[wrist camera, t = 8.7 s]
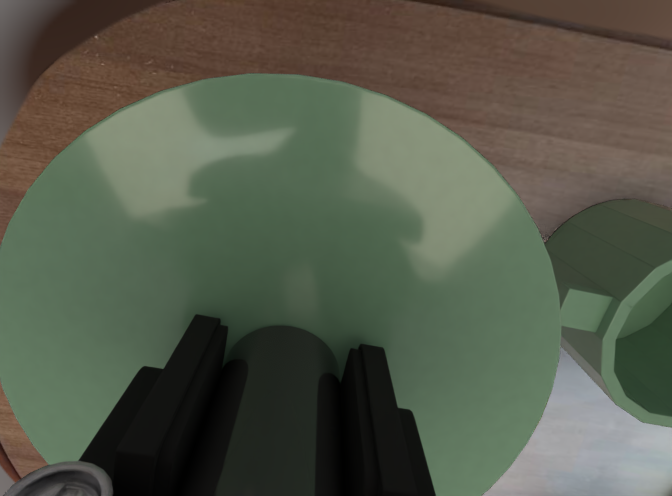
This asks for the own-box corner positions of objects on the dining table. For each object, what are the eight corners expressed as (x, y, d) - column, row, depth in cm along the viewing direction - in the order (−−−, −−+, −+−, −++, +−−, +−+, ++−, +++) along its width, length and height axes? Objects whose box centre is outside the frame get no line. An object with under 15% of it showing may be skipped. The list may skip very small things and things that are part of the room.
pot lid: (15, 5, 9) (-602, -168, 3) (626, 150, 10) (1043, 228, 4) (27, 496, 13) (-209, 817, 7) (450, 553, 14) (535, 864, 9)
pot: (532, 174, 31) (616, 206, 22) (751, 225, 33) (910, 274, 24) (476, 324, 35) (527, 402, 26) (674, 362, 37) (785, 448, 28)
